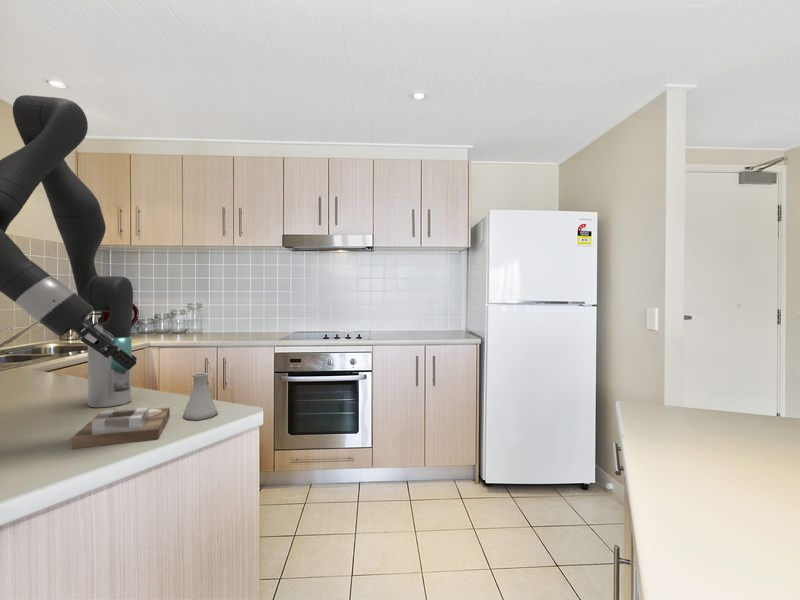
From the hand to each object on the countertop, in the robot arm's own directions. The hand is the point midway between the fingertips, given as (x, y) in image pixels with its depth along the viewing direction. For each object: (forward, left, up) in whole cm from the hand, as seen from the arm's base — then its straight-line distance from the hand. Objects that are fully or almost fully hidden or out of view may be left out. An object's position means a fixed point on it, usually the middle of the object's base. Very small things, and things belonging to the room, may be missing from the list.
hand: (132, 364), depth 85 cm
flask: (-9, +12, -15) cm, 21 cm away
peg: (0, -2, -5) cm, 5 cm away
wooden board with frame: (-4, -2, -14) cm, 15 cm away
